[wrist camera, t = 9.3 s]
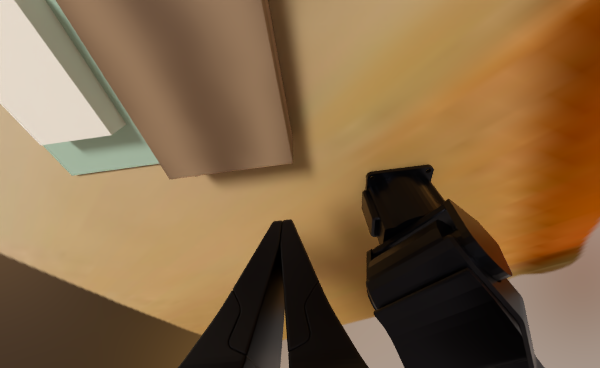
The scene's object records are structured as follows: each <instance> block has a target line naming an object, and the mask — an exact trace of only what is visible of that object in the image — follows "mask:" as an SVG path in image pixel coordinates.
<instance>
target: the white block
mask: <svg viewBox="0 0 600 368" xmlns="http://www.w3.org/2000/svg"><path fill="white" fill-rule="evenodd" d="M0 104H1V105H2V106H3V107H4V108H5V109H6V110H7V111H8V112H9V113H10V114H11V115H12V116H13V117H14V118H15V119H16V120H17V121H18V122H19V123H20V124H21V126H22V127H23V128H24V129H25V130H26V131H27V132H28V133H29V134H30V135H31V136H32V137H33V138H34V139H35V140H36V141H37V142H38V143H39V144H40V145H47V144H54V143H61V142H68V141H75V140H82V139H89V138H96V137H103V136H110V135H113V134H114V133H115V132H117V131H118V130H119V129H121V128H122V127H123V126H125V125H126V123H125V121H124V120H123V118H122V117H121V115H120V114H119V112H118V111H117V109H116V108H115V106H114V105H113V103H112V101H111V100H110V98H109V97H108V95H107V94H106V92H105V91H104V89H103V88H102V86H101V85H100V83H99V82H98V80H97V79H96V77H95V76H94V74H93V72H92V71H91V69H90V68H89V66H88V65H87V63H86V62H85V60H84V59H83V57H82V56H81V54H80V53H79V51H78V50H77V48H76V46H75V45H74V43H73V42H72V40H71V39H70V37H69V36H68V34H67V33H66V31H65V30H64V28H63V27H62V25H61V24H60V22H59V21H58V19H57V17H56V16H55V14H54V13H53V11H52V10H51V8H50V7H49V5H48V4H47V2H46V1H45V0H0Z"/></svg>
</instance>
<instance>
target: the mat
mask: <svg viewBox="0 0 600 368" xmlns="http://www.w3.org/2000/svg"><path fill="white" fill-rule="evenodd" d="M45 1H46V2H47V4H48V5H49V7H50V8H51V10H52V11H53V13H54V14H55V16H56V17H57V19H58V21H59V22H60V24H61V25H62V27H63V28H64V30H65V31H66V33H67V34H68V36H69V37H70V39H71V40H72V42H73V43H74V45H75V46H76V48H77V50H78V51H79V53H80V54H81V56H82V57H83V59H84V60H85V62H86V63H87V65H88V66H89V68H90V69H91V71H92V72H93V74H94V76H95V77H96V79H97V80H98V82H99V83H100V85H101V86H102V88H103V89H104V91H105V92H106V94H107V95H108V97H109V98H110V100H111V101H112V103H113V105H114V106H115V108H116V109H117V111H118V112H119V114H120V115H121V117H122V118H123V120H124V121H125V123H126V125H125V126H123V127H122V128H121V129H119V130H118V131H117V132H115V133H114V134H113V135H110V136H103V137H96V138H89V139H82V140H75V141H68V142H61V143H54V144H47V145H43V146H44V147H45V148H46V149H47V150H48V151H49V152H50V153H51V155H52V156H53V157H54V158H55V159H56V160H57V161H58V162H59V163H60V164H61V165H62V166H63V167H64V168H65V169H66V170H67V171H68V172H69V173H70V174H71V175H72V176H73V175H80V174H87V173H94V172H102V171H109V170H116V169H124V168H131V167H138V166H145V165H153V164H160V163H159V162H158V160H157V159H156V157H155V156H154V154H153V152H152V151H151V149H150V148H149V146H148V145H147V143H146V141H145V140H144V138H143V137H142V135H141V134H140V132H139V130H138V129H137V127H136V126H135V124H134V123H133V121H132V119H131V118H130V116H129V115H128V113H127V112H126V110H125V108H124V107H123V105H122V104H121V102H120V101H119V99H118V97H117V96H116V94H115V93H114V91H113V90H112V88H111V86H110V85H109V83H108V82H107V80H106V79H105V77H104V75H103V74H102V72H101V71H100V69H99V68H98V66H97V64H96V63H95V61H94V60H93V58H92V57H91V55H90V53H89V52H88V50H87V49H86V47H85V46H84V44H83V42H82V41H81V39H80V38H79V36H78V35H77V33H76V31H75V30H74V28H73V27H72V25H71V24H70V22H69V20H68V19H67V17H66V16H65V14H64V13H63V11H62V10H61V8H60V6H59V5H58V3H57V2H56V0H45Z"/></svg>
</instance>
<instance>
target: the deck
mask: <svg viewBox="0 0 600 368" xmlns="http://www.w3.org/2000/svg"><path fill="white" fill-rule="evenodd" d="M56 2H57V3H58V5H59V6H60V8H61V10H62V11H63V13H64V14H65V16H66V17H67V19H68V20H69V22H70V24H71V25H72V27H73V28H74V30H75V31H76V33H77V35H78V36H79V38H80V39H81V41H82V42H83V44H84V46H85V47H86V49H87V50H88V52H89V53H90V55H91V57H92V58H93V60H94V61H95V63H96V64H97V66H98V68H99V69H100V71H101V72H102V74H103V75H104V77H105V79H106V80H107V82H108V83H109V85H110V86H111V88H112V90H113V91H114V93H115V94H116V96H117V97H118V99H119V101H120V102H121V104H122V105H123V107H124V108H125V110H126V112H127V113H128V115H129V116H130V118H131V119H132V121H133V123H134V124H135V126H136V127H137V129H138V130H139V132H140V134H141V135H142V137H143V138H144V140H145V141H146V143H147V145H148V146H149V148H150V149H151V151H152V152H153V154H154V156H155V157H156V159H157V160H158V162H159V163H160V165H161V167H162V168H163V170H164V171H165V173H166V174H167V176H168V178H169V179H177V178H184V177H192V176H200V175H207V174H215V173H222V172H230V171H238V170H245V169H253V168H260V167H268V166H276V165H283V164H291V163H293V136H292V131H291V125H290V120H289V114H288V109H287V103H286V97H285V92H284V86H283V81H282V75H281V70H280V64H279V58H278V53H277V47H276V42H275V36H274V30H273V25H272V19H271V14H270V8H269V3H268V0H56Z"/></svg>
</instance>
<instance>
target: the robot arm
mask: <svg viewBox="0 0 600 368" xmlns="http://www.w3.org/2000/svg"><path fill="white" fill-rule="evenodd" d="M427 169H429V170H427ZM426 170H427V171H426ZM433 171H434V169H433V167H432V166H431V165H421V166H413V167H405V168H397V169H389V170H381V171H374V172H369V173H368V174H367V175H366V190H364V191H363V193H362V210H363V213H364V216H365V219H366V222H367V225H368V228H369V231H370V234H371V236H373V237H377V238H378V241H379V243H380V245H379V246H377V247H376V248H374V249H373V250H372V249H371V250H369V251H368V252H367V281H366V287H367V293H368V297H369V299H370V302H371V304H372V306H373V307H374V309H375V310H376V311H374V315H375V317H376V318H377V319H378V320H379V322H380V323H381V324H382V325H383V327H384V328H385V329H386V331H387V333H388V335H389V336H390V338H391V340H392V342H393V344H394V346H395V348H396V350H397V352H398V354H399V356H400V359H401V361H402V363H403V365H404V367H405V368H544V367H543V365H542V364H541V363H540V361H539V360H538V359H537V357H536V356H535V354H534V349H533V344H532V340H531V335H530V330H529V325H528V321H527V315H526V311H525V306H524V301H523V298H522V297H521V295H520V294H519V293H518V292H517V290H516V289H515V288H514V287H513V286H512V284H511V283H510V282H509V281H508V280H507V278H508V277H510V276H512V272H511V270H510V268H509V266H508V264H507V262H506V260H505V258H504V256H503V254H502V251H501V249H500V247H499V245H498V244H497V242H496V241H495V240H494V239H493V238H492V237H491V236H490V235H489V233H488V232H487V231H486V230H485V229H484V228H483V227H482V226H481V225H480V223H479V222H478V221H476V220H475V219H474V218H473V217H471V216H470V215H469V214H468V213H466V212H465V211H464V210H463V209H461V208H460V207H459V206H457V205H456V204H455V203H454V202H452V201H451V200H450V199H448V200H446V201H445V200H444V199H443V198H442V196H441V195H440V194H439V192H438V191H437V190H436V188H435V187H434V186H433V184H432V183H431V178H432V174H433ZM371 176H373V177H372V178H370V177H371ZM284 312H285V317H286V330H287V342H288V352H289V355H288V356H289V368H369V367H368V366H367V365H366V363H365V362H364V360H363V359H362V357H361V356H360V354H359V353H358V351H357V349H356V348H355V346H354V345H353V343H352V341H351V340H350V338H349V336H348V335H347V333H346V332H345V330H344V328H343V326H342V325H341V323H340V321H339V320H338V318H337V316H336V315H335V313H334V311H333V309H332V308H331V306H330V304H329V302H328V300H327V298H326V296H325V294H324V292H323V289H322V287H321V285H320V283H319V280H318V278H317V276H316V273H315V271H314V269H313V267H312V264H311V262H310V260H309V257H308V255H307V253H306V251H305V248H304V246H303V244H302V241H301V239H300V237H299V235H298V232H297V230H296V228H295V225H294V223H293V221H292V220H291V219H290V220H284V221H274V222H273V223H272V224H271V226H270V228H269V229H268V231H267V233H266V234H265V236H264V238H263V239H262V241H261V243H260V244H259V246H258V248H257V249H256V251H255V253H254V254H253V256H252V258H251V259H250V261H249V263H248V264H247V266H246V268H245V269H244V271H243V273H242V275H241V276H240V278H239V280H238V281H237V283H236V285H235V286H234V288H233V291H231V293H230V294H229V296H228V298H227V299H226V301H225V303H224V304H223V306H222V307H221V309H220V311H219V312H218V314H217V315H216V316H215V318H214V319H213V321H212V322H211V323H210V325H209V326H208V328H207V329H206V330H205V332H204V333H203V335H202V336H201V337H200V339H199V340H198V341H197V343H196V344H195V346H194V347H193V348H192V350H191V351H190V352H189V354H188V355H187V356H186V358H185V359H184V361H183V362H182V363H181V364H180V366H179V367H178V368H280V362H281V349H282V337H283V324H284Z"/></svg>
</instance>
